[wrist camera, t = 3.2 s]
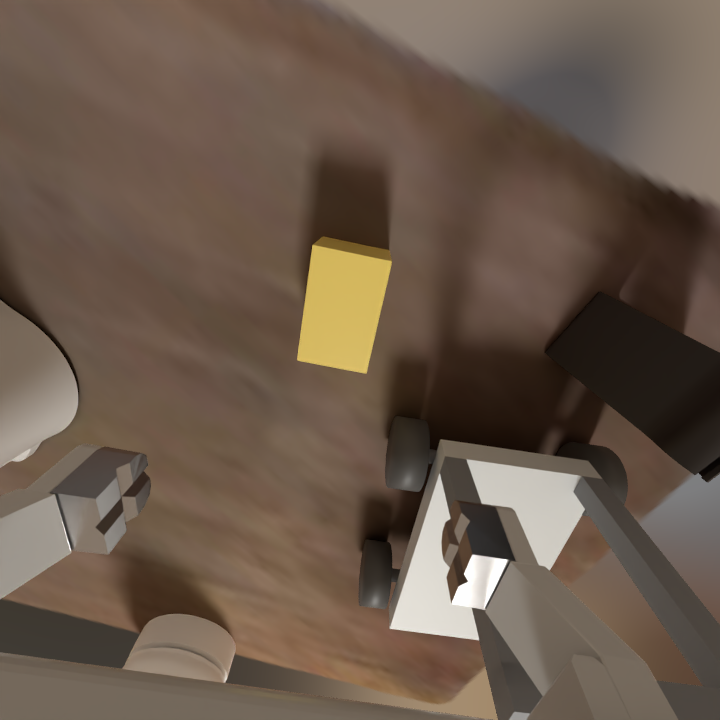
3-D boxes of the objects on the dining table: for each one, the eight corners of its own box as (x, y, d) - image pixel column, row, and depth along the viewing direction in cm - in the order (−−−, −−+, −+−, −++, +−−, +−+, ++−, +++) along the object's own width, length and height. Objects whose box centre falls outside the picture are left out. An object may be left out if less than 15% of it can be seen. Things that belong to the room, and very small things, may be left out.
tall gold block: (308, 335, 30) (297, 360, 25) (323, 236, 26) (312, 244, 22) (367, 346, 30) (366, 373, 26) (389, 250, 27) (392, 261, 22)
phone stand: (542, 351, 30) (641, 442, 19) (598, 289, 27) (747, 353, 16) (621, 400, 31) (753, 511, 20) (679, 347, 29) (863, 439, 18)
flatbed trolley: (515, 583, 42) (631, 902, 23) (359, 563, 41) (347, 872, 22) (595, 432, 33) (899, 758, 14) (396, 402, 32) (428, 701, 13)
